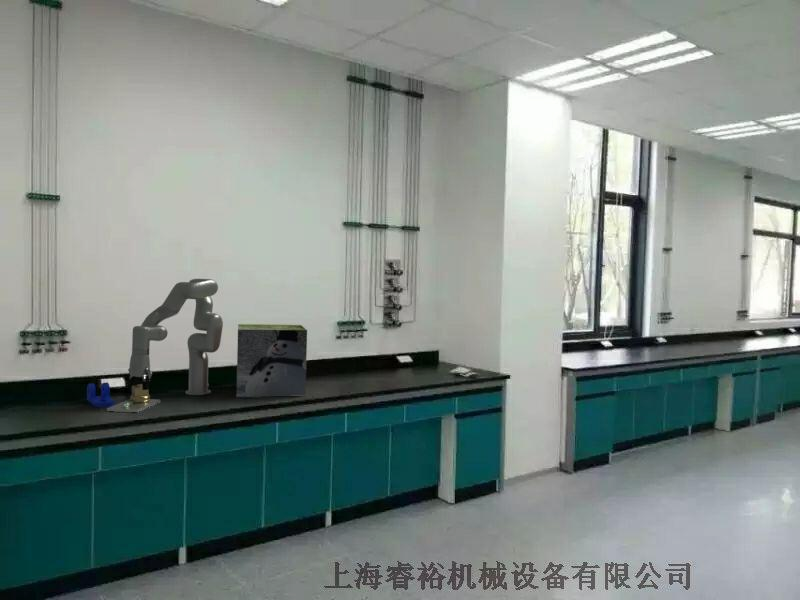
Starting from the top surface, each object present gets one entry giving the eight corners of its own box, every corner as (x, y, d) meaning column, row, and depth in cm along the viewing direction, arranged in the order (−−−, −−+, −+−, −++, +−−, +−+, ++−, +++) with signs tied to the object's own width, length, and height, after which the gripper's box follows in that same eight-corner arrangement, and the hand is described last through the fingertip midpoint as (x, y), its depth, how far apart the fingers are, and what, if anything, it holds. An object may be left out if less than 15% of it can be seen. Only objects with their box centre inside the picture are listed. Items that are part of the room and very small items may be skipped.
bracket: (86, 401, 284) (87, 382, 283) (105, 399, 289) (105, 381, 289) (96, 408, 270) (97, 388, 270) (116, 406, 276) (116, 387, 275)
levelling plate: (132, 401, 286) (132, 394, 286) (160, 402, 285) (160, 395, 285) (106, 411, 264) (107, 404, 264) (137, 412, 263) (137, 405, 263)
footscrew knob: (142, 398, 285) (143, 382, 285) (153, 400, 281) (153, 384, 280) (122, 401, 277) (122, 385, 276) (133, 404, 272) (133, 387, 272)
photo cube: (299, 384, 345) (300, 324, 344) (305, 396, 311) (307, 330, 310) (236, 385, 336) (238, 324, 335) (236, 397, 302) (237, 329, 301)
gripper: (122, 351, 280) (121, 387, 281) (144, 354, 271) (143, 391, 271) (137, 350, 287) (136, 385, 287) (159, 353, 277) (157, 389, 277)
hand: (139, 388), depth 279 cm, fingers open, 9 cm apart
